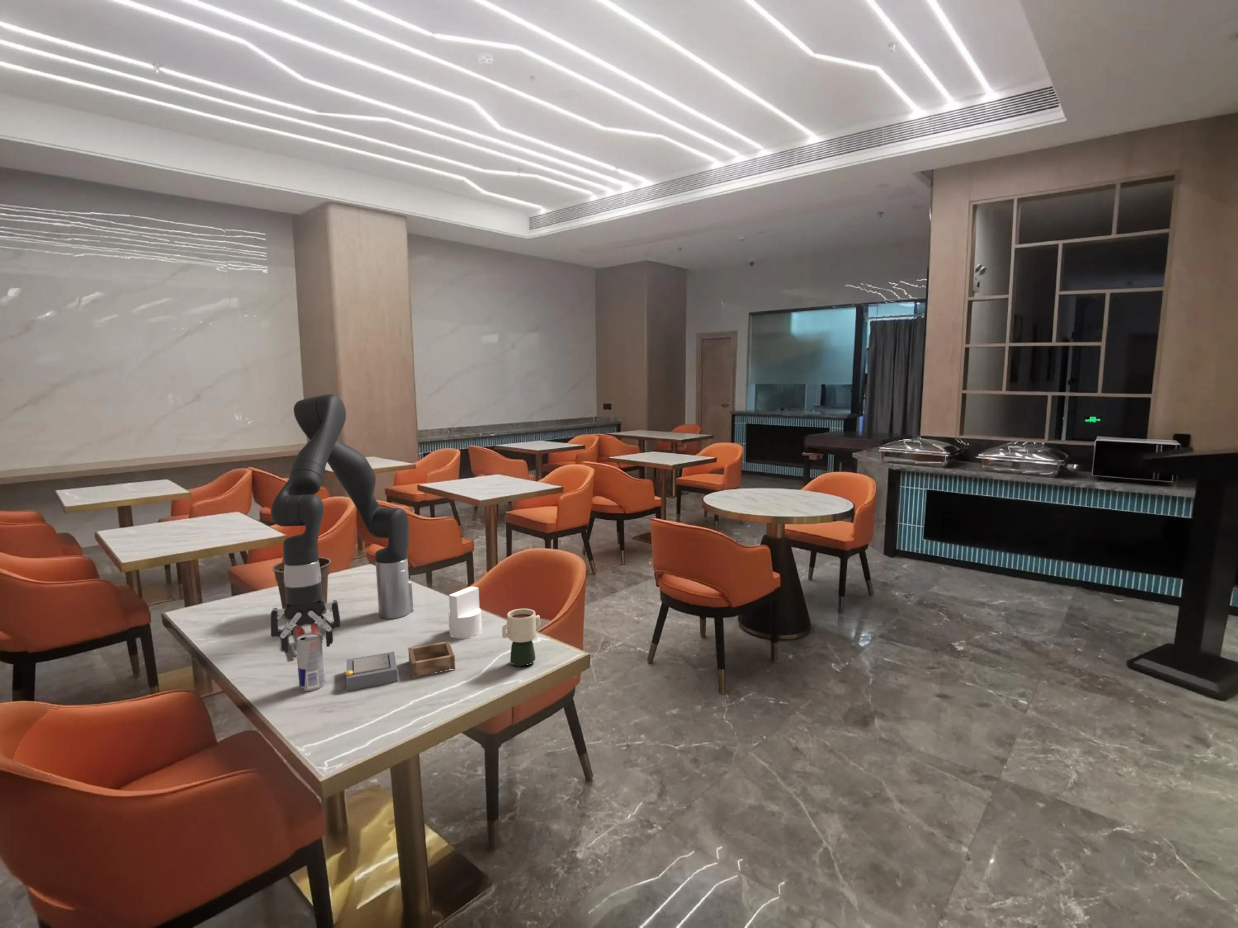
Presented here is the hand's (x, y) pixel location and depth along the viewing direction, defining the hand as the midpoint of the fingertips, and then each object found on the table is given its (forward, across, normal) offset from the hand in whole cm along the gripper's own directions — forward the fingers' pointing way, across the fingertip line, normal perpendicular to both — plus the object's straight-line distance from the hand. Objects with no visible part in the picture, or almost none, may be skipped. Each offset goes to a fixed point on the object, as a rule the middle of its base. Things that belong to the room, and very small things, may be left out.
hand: (308, 648), depth 143 cm
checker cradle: (+9, -13, 0) cm, 16 cm away
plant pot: (+9, +4, -54) cm, 55 cm away
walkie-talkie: (+10, +3, -28) cm, 30 cm away
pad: (+7, -13, 0) cm, 15 cm away
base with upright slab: (+9, -39, -18) cm, 43 cm away
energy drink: (+9, 0, 0) cm, 9 cm away
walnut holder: (+9, -27, 0) cm, 29 cm away
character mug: (+9, -48, +9) cm, 50 cm away
